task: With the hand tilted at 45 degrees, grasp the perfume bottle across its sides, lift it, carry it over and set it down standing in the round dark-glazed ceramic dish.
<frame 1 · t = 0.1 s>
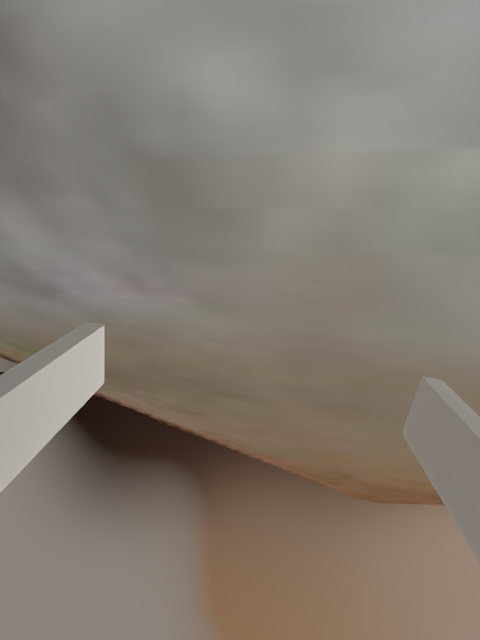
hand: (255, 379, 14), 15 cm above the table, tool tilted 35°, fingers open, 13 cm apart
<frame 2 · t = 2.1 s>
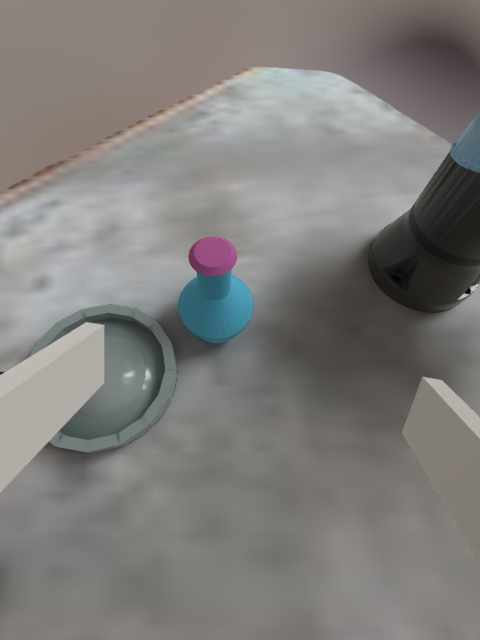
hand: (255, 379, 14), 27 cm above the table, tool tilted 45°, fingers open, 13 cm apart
perfume bottle: (217, 320, 44), on the table
round dish: (106, 376, 40), on the table
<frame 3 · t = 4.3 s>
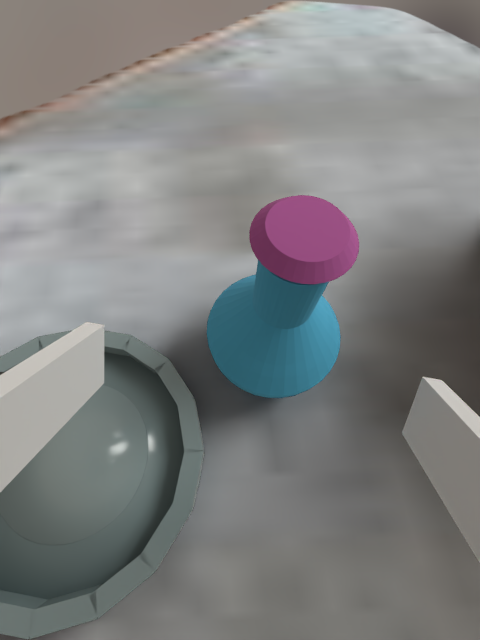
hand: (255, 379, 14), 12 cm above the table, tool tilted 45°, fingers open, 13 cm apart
perfume bottle: (265, 353, 27), on the table
round dish: (78, 456, 23), on the table
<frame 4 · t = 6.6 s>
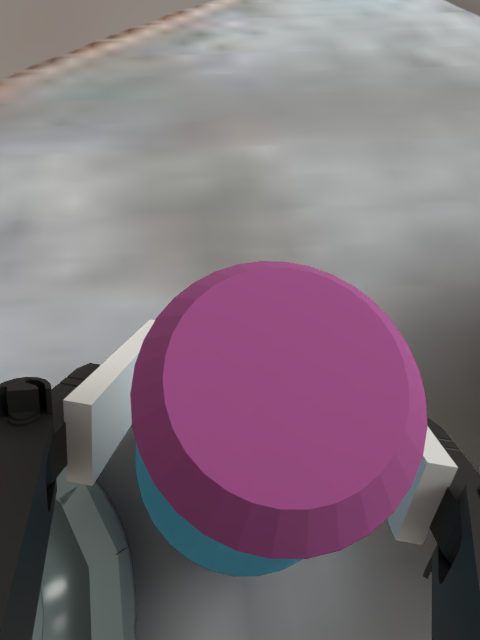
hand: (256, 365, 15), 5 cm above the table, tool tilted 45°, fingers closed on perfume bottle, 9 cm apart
perfume bottle: (240, 450, 18), on the table, touching gripper
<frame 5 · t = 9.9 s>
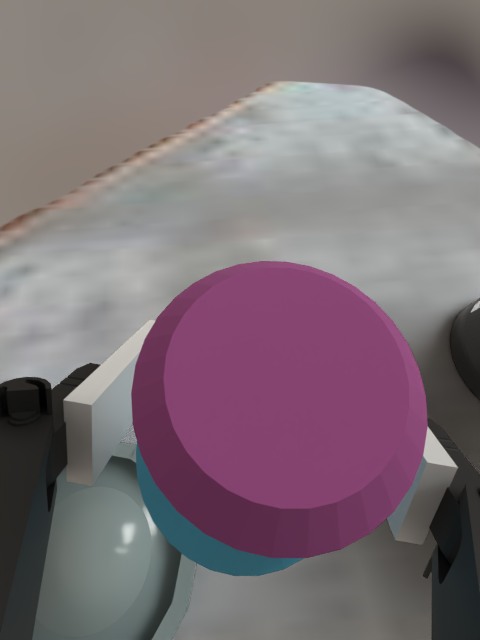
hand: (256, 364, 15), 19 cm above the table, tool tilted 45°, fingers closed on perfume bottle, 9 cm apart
perfume bottle: (241, 450, 18), point 14 cm above the table, touching gripper
round dish: (92, 553, 27), on the table
when the fingers open (8 cm above the table, at t = 13.4 s): perfume bottle drops 1 cm, resting on round dish.
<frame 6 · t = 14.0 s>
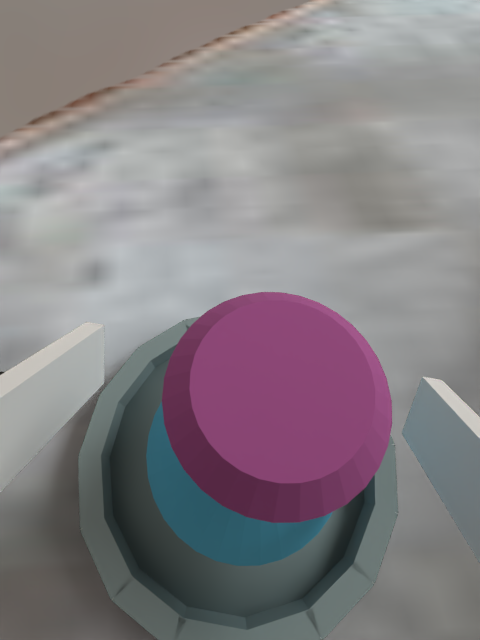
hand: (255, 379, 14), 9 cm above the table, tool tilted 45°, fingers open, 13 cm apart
perfume bottle: (241, 453, 20), point 1 cm above the table, touching round dish
round dish: (238, 453, 20), on the table
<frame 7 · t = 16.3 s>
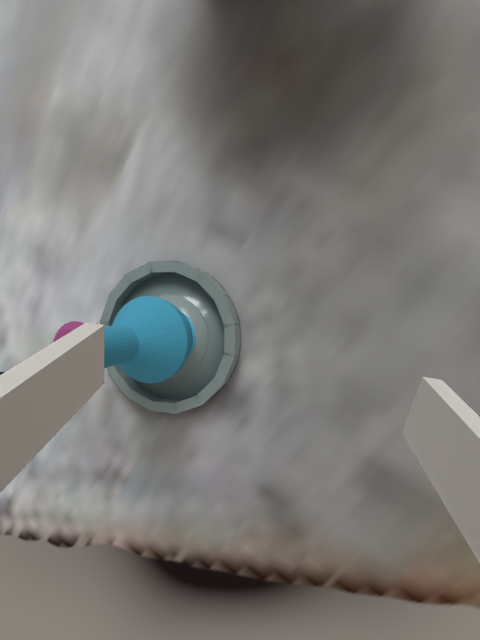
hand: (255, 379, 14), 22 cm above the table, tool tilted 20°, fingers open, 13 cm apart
perfume bottle: (170, 336, 39), point 1 cm above the table, touching round dish
round dish: (172, 336, 40), on the table
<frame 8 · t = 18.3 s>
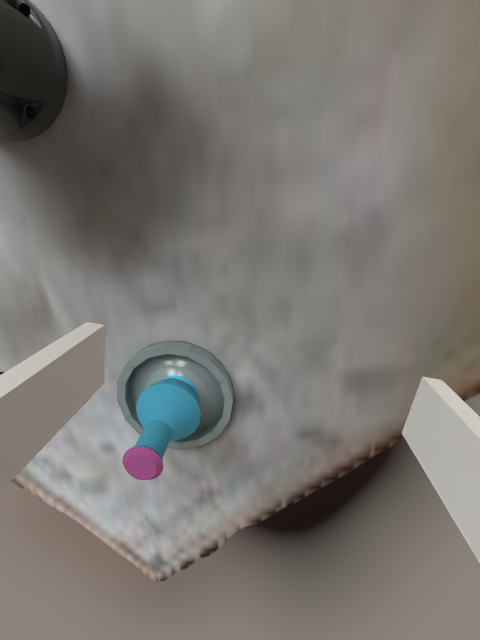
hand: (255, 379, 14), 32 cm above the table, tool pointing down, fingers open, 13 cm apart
perfume bottle: (177, 394, 50), point 1 cm above the table, touching round dish
round dish: (178, 392, 51), on the table
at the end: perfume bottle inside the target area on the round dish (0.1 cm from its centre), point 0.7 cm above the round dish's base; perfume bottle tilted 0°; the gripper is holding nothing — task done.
